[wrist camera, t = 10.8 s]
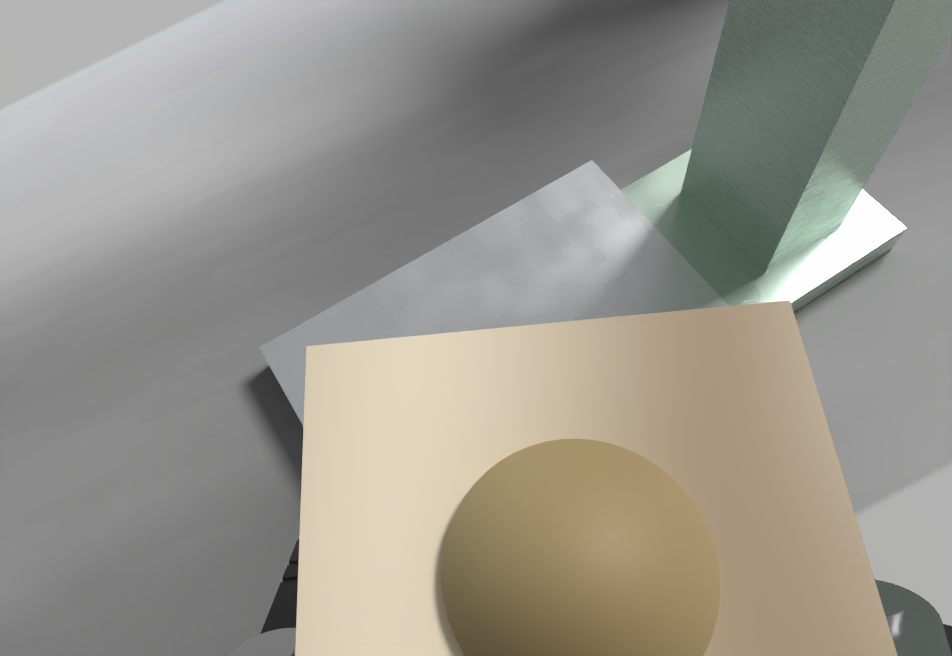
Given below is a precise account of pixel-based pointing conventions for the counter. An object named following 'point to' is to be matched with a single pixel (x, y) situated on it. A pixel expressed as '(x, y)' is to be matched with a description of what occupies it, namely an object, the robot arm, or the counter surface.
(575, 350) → the block
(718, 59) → the press
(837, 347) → the counter surface
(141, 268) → the counter surface
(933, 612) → the robot arm
